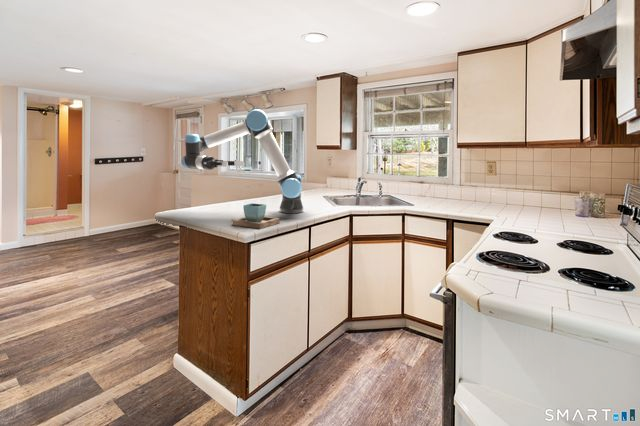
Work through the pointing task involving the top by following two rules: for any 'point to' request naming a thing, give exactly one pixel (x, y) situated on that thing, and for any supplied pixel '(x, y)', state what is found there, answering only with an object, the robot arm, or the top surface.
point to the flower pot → (254, 212)
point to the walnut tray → (264, 223)
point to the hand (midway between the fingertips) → (236, 163)
